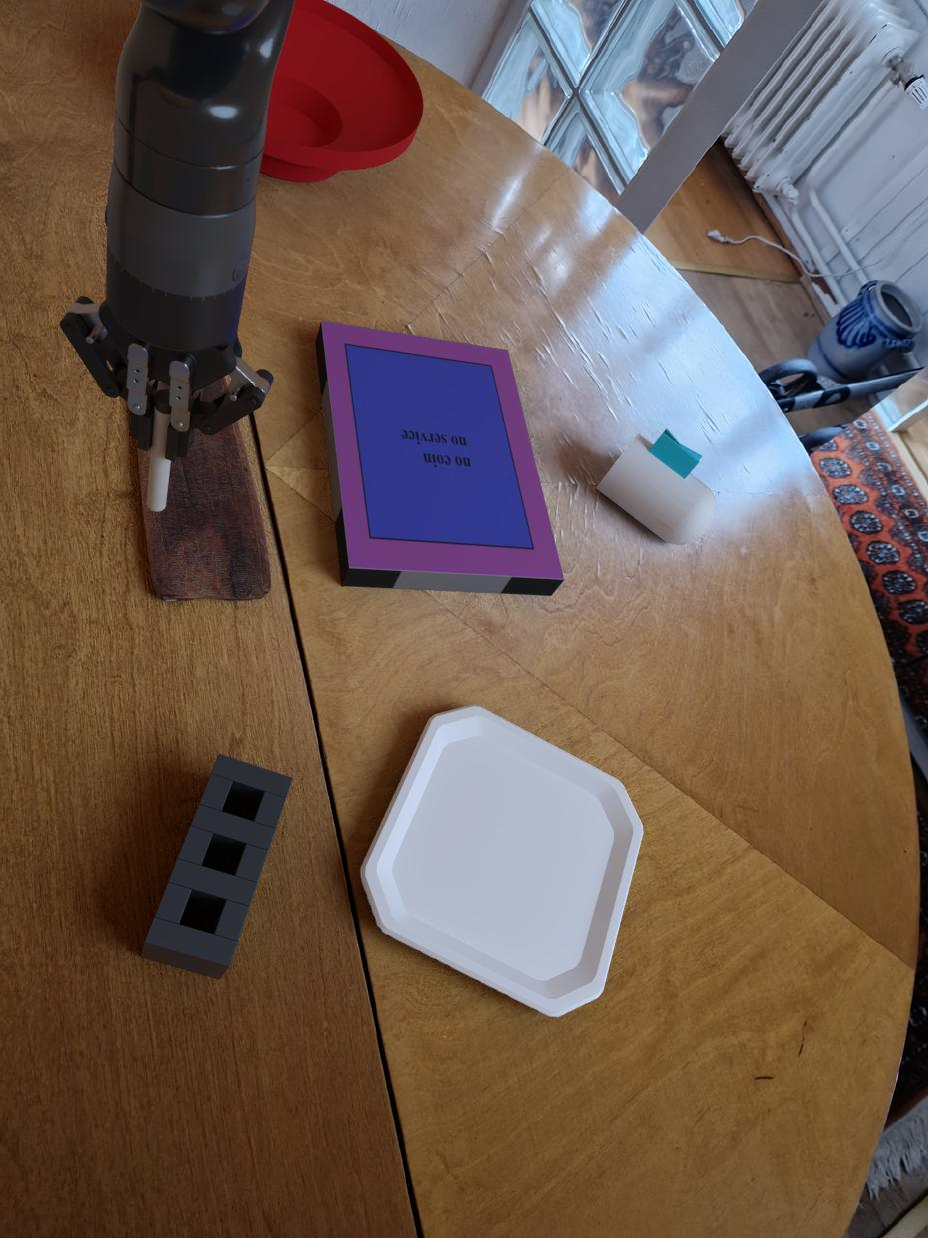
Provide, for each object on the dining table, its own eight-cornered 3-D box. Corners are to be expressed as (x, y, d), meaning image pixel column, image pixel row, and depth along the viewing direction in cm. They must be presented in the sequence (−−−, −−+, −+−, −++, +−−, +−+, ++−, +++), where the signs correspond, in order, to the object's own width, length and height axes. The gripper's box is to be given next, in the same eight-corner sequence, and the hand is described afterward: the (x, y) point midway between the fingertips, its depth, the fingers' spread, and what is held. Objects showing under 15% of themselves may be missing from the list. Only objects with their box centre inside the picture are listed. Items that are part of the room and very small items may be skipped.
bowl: (148, 35, 110) (152, -54, 102) (384, 94, 121) (405, 18, 113) (150, 196, 96) (156, 108, 88) (417, 246, 107) (443, 172, 99)
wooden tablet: (125, 351, 82) (236, 350, 85) (127, 368, 84) (235, 367, 87) (150, 599, 71) (277, 588, 74) (152, 613, 73) (275, 601, 76)
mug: (739, 498, 89) (643, 425, 89) (681, 565, 93) (590, 495, 94) (747, 472, 99) (661, 406, 99) (694, 533, 103) (612, 470, 104)
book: (508, 349, 99) (564, 579, 85) (498, 369, 101) (551, 595, 87) (321, 320, 91) (349, 568, 77) (315, 342, 94) (341, 586, 80)
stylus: (143, 506, 68) (151, 397, 58) (152, 494, 69) (162, 385, 59) (159, 514, 68) (170, 407, 58) (169, 502, 69) (181, 395, 59)
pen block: (220, 980, 60) (229, 967, 56) (140, 957, 59) (144, 942, 55) (281, 800, 68) (293, 777, 64) (211, 777, 67) (219, 753, 63)
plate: (436, 695, 77) (444, 684, 75) (641, 804, 79) (654, 796, 77) (334, 917, 65) (341, 910, 63) (579, 1040, 67) (593, 1037, 65)
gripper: (318, 255, 52) (270, 446, 66) (86, 154, 50) (88, 374, 64) (278, 334, 48) (236, 521, 62) (23, 228, 46) (39, 447, 60)
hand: (161, 446), depth 63 cm, fingers closed on stylus, 1 cm apart
